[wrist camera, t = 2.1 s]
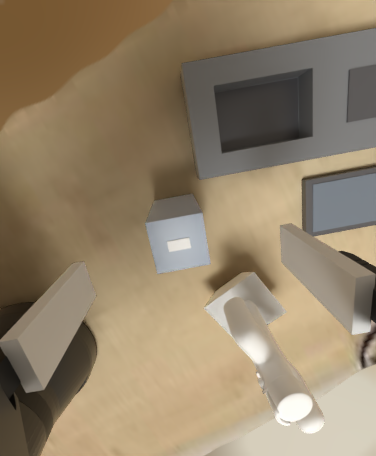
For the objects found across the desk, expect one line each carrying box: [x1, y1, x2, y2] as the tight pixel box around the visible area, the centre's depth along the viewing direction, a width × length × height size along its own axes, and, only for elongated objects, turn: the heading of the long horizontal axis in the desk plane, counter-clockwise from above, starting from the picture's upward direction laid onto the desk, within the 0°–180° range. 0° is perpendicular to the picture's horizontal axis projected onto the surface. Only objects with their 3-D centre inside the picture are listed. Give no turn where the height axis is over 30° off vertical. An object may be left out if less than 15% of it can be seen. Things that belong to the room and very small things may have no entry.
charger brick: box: [145, 194, 211, 274], centre depth 22 cm, size 4×4×9 cm
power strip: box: [181, 28, 376, 180], centre depth 22 cm, size 30×10×4 cm, turn 100°
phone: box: [302, 166, 376, 236], centre depth 27 cm, size 14×7×1 cm, turn 100°
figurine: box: [204, 272, 324, 433], centre depth 23 cm, size 7×9×15 cm
